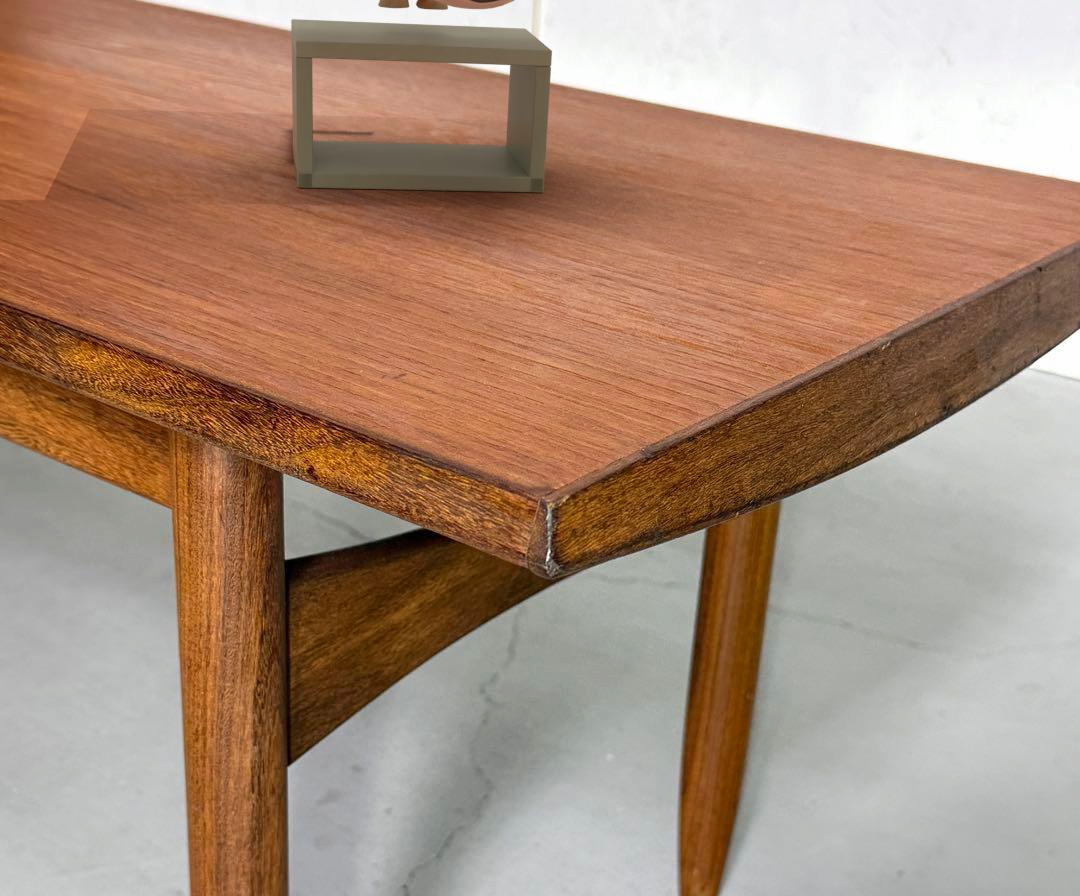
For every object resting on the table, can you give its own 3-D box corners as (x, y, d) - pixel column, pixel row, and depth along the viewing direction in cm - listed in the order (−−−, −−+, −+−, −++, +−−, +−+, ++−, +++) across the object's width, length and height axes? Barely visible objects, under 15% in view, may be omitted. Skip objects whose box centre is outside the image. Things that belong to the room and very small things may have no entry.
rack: (297, 187, 95) (295, 40, 91) (293, 154, 104) (291, 18, 100) (543, 192, 98) (552, 50, 94) (519, 159, 106) (526, 28, 103)
